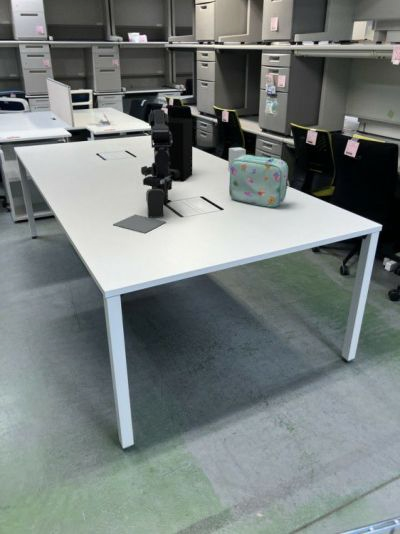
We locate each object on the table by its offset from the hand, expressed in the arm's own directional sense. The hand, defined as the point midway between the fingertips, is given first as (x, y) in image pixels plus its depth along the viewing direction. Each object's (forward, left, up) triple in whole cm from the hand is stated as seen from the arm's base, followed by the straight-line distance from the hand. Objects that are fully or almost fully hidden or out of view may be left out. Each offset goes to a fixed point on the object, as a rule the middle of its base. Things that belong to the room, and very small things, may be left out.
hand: (162, 197), depth 183 cm
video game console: (-50, -28, -7) cm, 58 cm away
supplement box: (-82, -7, -7) cm, 83 cm away
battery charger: (+6, 0, -7) cm, 9 cm away
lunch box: (-35, +28, -7) cm, 46 cm away
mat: (+16, 0, -7) cm, 17 cm away
